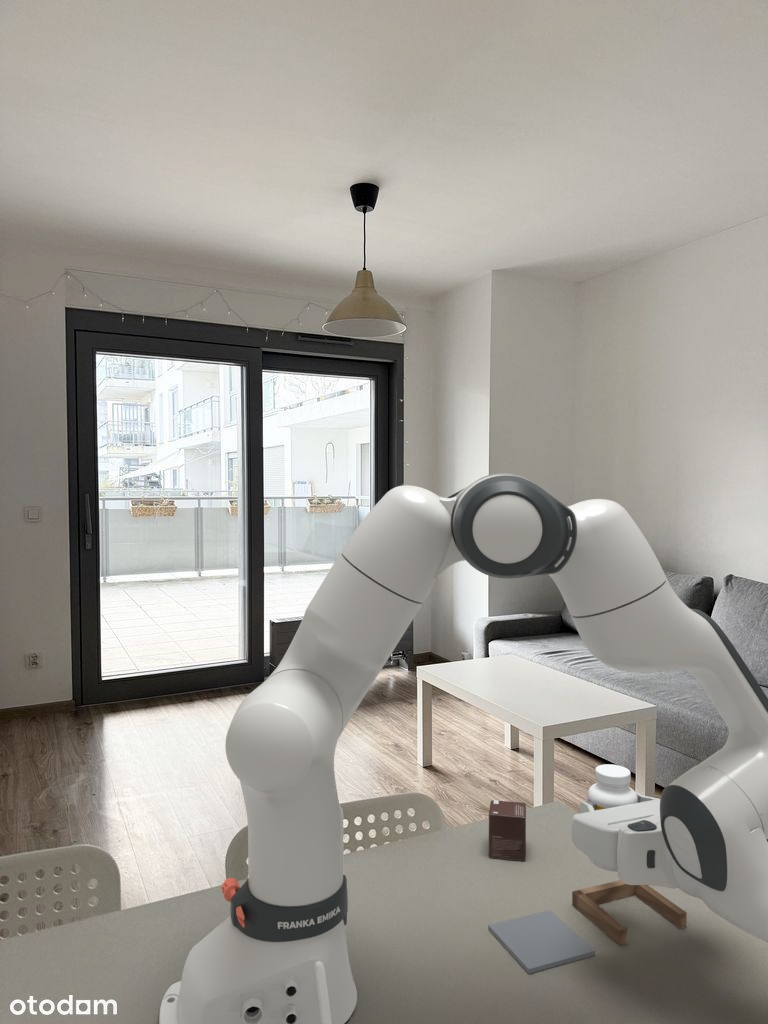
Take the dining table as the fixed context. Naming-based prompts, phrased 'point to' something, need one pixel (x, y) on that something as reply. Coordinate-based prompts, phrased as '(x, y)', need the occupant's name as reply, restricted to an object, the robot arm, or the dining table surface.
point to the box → (507, 830)
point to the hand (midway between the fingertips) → (607, 802)
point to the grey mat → (540, 941)
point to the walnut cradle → (616, 890)
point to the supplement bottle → (611, 791)
